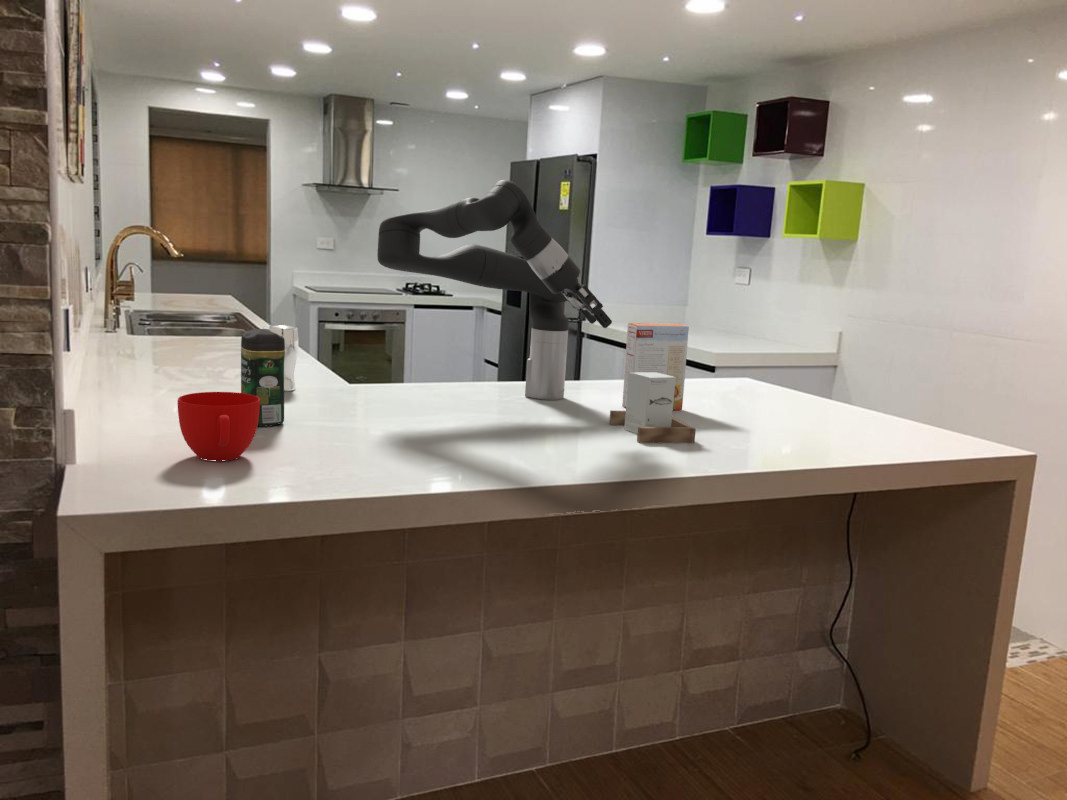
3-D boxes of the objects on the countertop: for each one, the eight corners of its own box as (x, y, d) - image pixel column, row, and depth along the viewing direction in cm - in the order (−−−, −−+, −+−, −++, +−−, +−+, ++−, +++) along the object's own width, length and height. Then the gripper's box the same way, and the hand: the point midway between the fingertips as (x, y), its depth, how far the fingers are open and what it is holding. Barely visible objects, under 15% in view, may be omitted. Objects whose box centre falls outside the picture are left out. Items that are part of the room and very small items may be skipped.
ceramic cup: (181, 474, 141) (180, 411, 140) (175, 449, 157) (175, 391, 155) (267, 471, 147) (268, 410, 145) (254, 446, 162) (255, 391, 160)
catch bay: (639, 442, 185) (640, 428, 185) (609, 423, 202) (610, 410, 202) (694, 442, 188) (695, 428, 188) (660, 424, 205) (661, 411, 205)
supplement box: (643, 437, 191) (648, 377, 189) (623, 429, 197) (627, 371, 195) (671, 435, 195) (677, 376, 192) (650, 427, 201) (655, 371, 199)
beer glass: (293, 392, 216) (294, 329, 213) (263, 390, 216) (264, 327, 213) (300, 387, 222) (301, 326, 220) (272, 386, 222) (273, 324, 220)
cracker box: (671, 406, 230) (678, 323, 226) (682, 411, 224) (690, 326, 220) (620, 406, 225) (627, 321, 221) (630, 411, 219) (637, 324, 216)
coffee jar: (236, 418, 184) (237, 326, 181) (276, 416, 188) (277, 326, 185) (246, 428, 176) (247, 332, 172) (288, 426, 179) (289, 332, 176)
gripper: (531, 276, 194) (578, 331, 199) (549, 280, 181) (599, 339, 186) (556, 252, 195) (603, 308, 200) (576, 254, 181) (626, 314, 186)
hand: (601, 323), depth 193 cm, fingers open, 8 cm apart
